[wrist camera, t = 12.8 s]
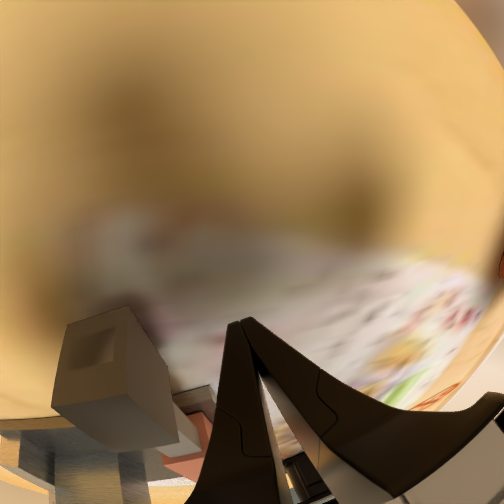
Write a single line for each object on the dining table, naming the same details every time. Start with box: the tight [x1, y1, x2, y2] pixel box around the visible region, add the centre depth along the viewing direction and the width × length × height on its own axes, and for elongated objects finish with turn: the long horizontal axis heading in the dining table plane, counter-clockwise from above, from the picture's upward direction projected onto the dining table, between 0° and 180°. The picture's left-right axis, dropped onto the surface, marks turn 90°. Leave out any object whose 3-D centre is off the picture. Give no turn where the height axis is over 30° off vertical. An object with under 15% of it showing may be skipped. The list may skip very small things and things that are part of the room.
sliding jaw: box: [51, 305, 213, 483], centre depth 14 cm, size 21×3×4 cm, turn 11°
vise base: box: [0, 385, 217, 493], centre depth 16 cm, size 14×20×4 cm
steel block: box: [55, 452, 151, 504], centre depth 14 cm, size 4×7×5 cm, turn 101°
